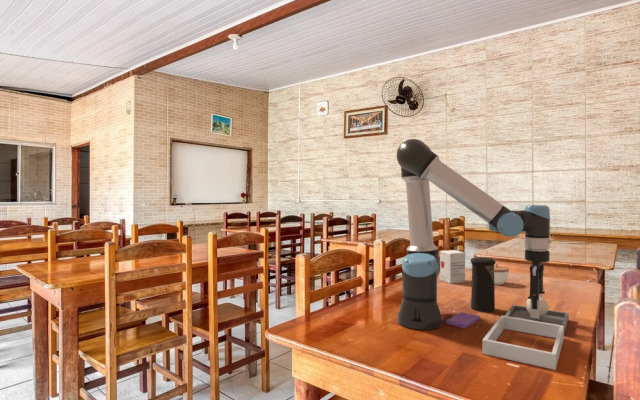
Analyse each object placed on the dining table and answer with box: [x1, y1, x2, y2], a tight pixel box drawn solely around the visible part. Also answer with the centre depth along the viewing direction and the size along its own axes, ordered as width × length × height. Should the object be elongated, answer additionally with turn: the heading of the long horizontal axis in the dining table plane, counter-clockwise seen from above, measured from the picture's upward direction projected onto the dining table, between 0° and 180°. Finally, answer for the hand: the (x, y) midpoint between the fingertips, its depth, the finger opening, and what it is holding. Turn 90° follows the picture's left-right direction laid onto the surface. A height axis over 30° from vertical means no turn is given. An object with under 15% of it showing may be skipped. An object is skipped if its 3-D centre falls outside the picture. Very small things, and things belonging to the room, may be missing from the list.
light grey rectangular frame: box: [481, 315, 565, 371], centre depth 119 cm, size 26×18×4 cm
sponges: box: [445, 312, 481, 329], centre depth 141 cm, size 7×13×2 cm, turn 138°
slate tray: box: [504, 304, 570, 337], centre depth 140 cm, size 18×18×2 cm
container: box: [470, 256, 496, 313], centre depth 155 cm, size 9×9×20 cm
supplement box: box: [439, 249, 466, 285], centre depth 201 cm, size 9×9×15 cm
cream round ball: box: [525, 297, 550, 317], centre depth 140 cm, size 7×7×7 cm
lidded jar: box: [494, 263, 510, 286], centre depth 196 cm, size 11×11×9 cm
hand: (536, 314), depth 140 cm, fingers closed on cream round ball, 7 cm apart
